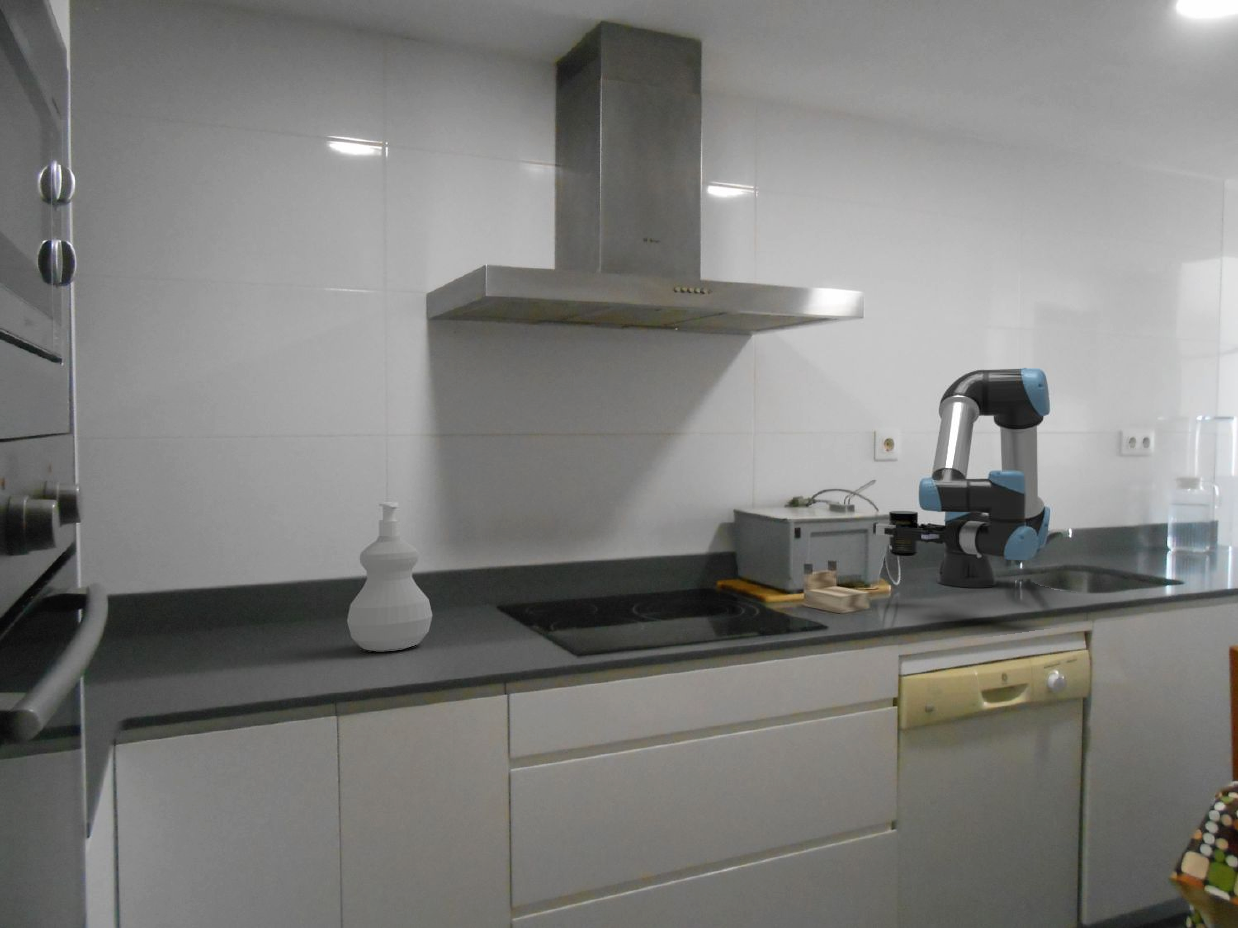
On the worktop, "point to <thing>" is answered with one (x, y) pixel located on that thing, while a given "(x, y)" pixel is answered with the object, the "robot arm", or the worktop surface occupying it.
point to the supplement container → (901, 545)
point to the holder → (831, 591)
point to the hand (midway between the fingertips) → (886, 527)
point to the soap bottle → (389, 592)
